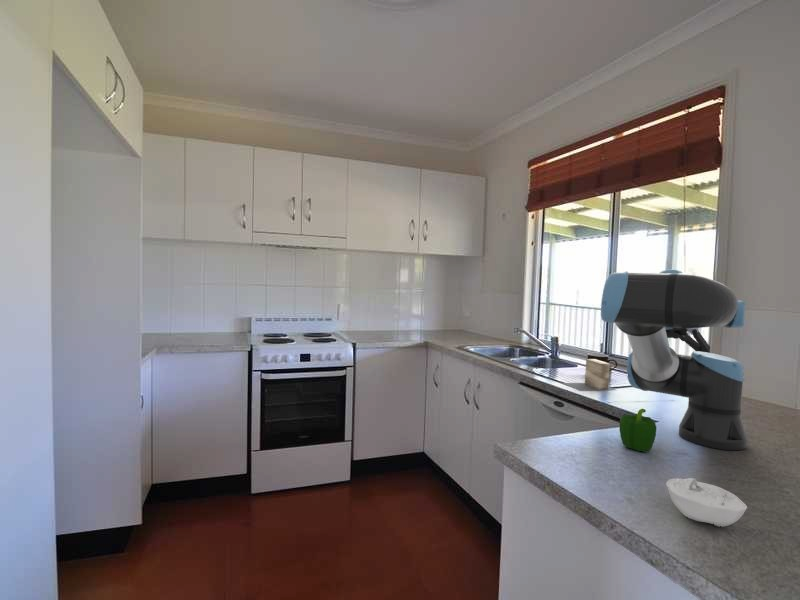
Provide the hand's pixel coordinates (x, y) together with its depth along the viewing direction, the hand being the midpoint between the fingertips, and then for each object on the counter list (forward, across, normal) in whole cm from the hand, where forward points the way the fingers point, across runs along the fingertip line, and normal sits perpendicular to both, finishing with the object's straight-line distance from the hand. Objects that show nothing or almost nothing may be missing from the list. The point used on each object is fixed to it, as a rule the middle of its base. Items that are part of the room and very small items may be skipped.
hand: (673, 362), depth 149 cm
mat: (+16, +28, +4) cm, 33 cm away
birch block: (+17, +26, +1) cm, 32 cm away
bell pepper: (-17, 0, +50) cm, 53 cm away
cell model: (-34, -16, +74) cm, 83 cm away
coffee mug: (+30, +30, -14) cm, 45 cm away
